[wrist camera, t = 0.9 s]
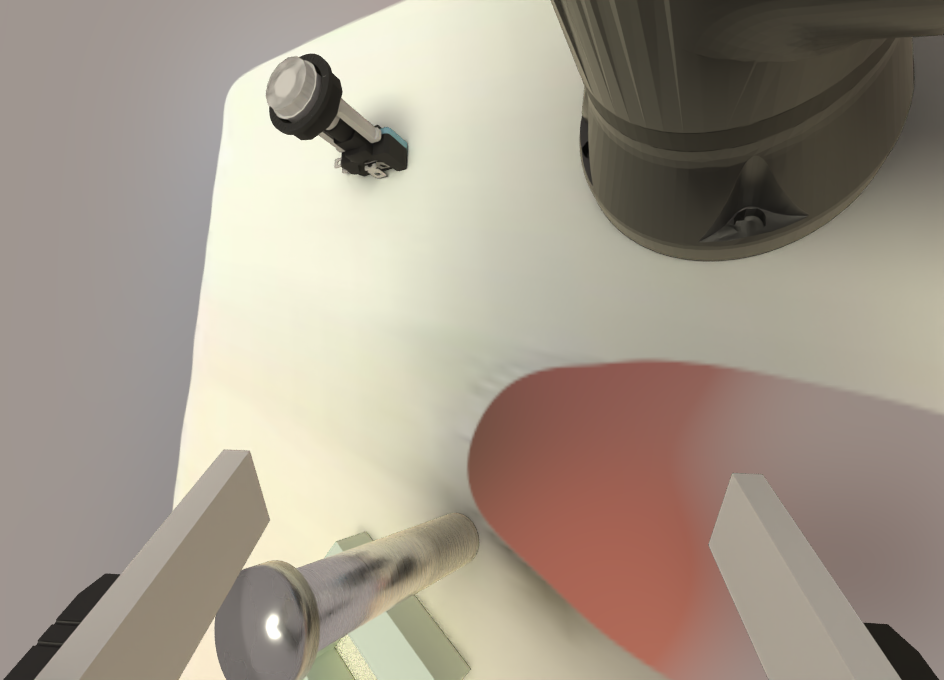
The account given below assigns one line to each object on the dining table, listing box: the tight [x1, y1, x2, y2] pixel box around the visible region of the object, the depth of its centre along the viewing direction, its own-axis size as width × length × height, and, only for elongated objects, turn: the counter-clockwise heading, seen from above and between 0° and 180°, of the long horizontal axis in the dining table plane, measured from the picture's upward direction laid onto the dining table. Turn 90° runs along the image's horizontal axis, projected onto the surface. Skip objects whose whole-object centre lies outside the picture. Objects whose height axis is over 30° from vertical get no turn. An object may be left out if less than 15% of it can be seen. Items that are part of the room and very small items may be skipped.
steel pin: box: [215, 513, 479, 680], centre depth 23 cm, size 4×4×15 cm
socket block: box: [303, 532, 471, 680], centre depth 30 cm, size 11×11×3 cm
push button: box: [266, 54, 407, 178], centre depth 34 cm, size 7×5×10 cm
